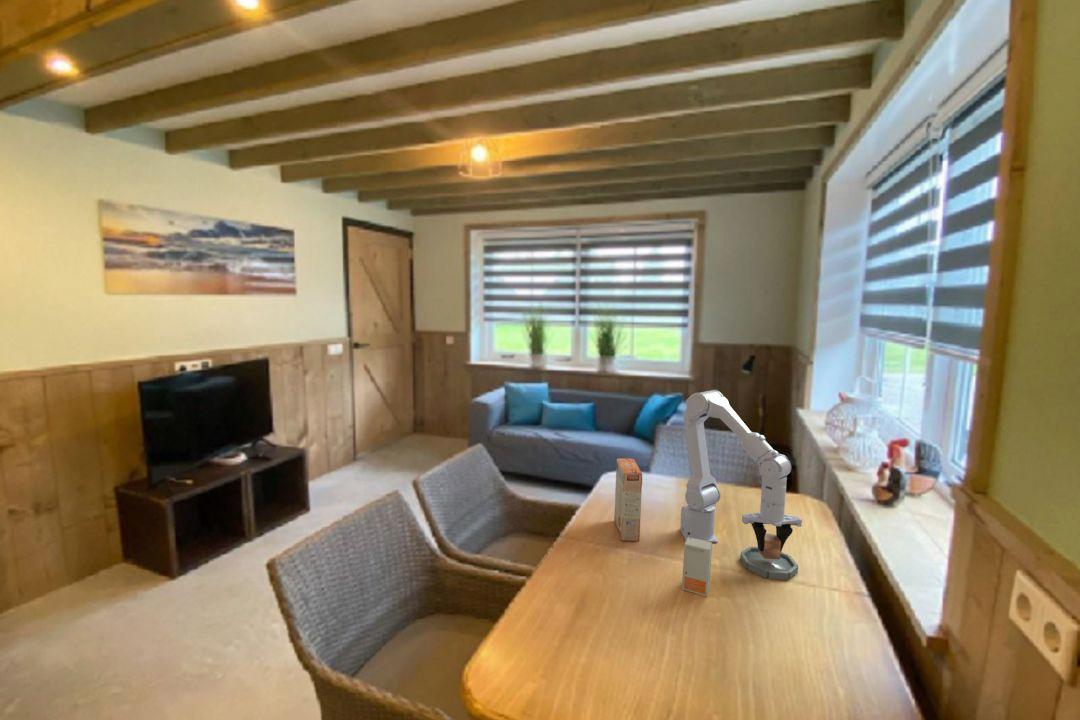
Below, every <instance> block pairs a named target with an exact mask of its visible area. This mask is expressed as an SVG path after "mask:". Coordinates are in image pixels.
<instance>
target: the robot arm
mask: <svg viewBox="0 0 1080 720" xmlns="http://www.w3.org/2000/svg"><path fill="white" fill-rule="evenodd" d="M685 404H686V408H685V411H684V414H683V422H684V433H685V437H686V447H687V453H688V454H687V455H688V461H689V470H690V477H689V480H688V481H687V483H686V492H685V495H684V497H685V498H684V499H685V502H686V504H687V505H685V506H681V510H680V525H679V526H680V527H679V530H680V532H681V534H682V536H683V539H684V540H685V542H686V539H687V537H690V538H694V539H700V540H703V541H707V542H711V543H718V542H719V540H718V539H717V537H716V535H715V518H716V517H715V516H716V515H715V514H716V508H717V507H716V506H717V503H719V501H720V499H721V496H722V495H721V491H720V489H719V486H718V485H717V480H716V478H715V477H714V476H712V474H711V470H710V463H709V462H710V461H709V454H708V447H707V439H706V438H707V437H706V431H705V430H706V429H705V424H704V423H705V421H706V420H707V419H708V418H715V419H720V420H721V421H722V422H723V424H725V425H726V426H727V427H728V429H730V430H731V431H732V432H733V433H734V434H735V435H736V436H737V437H738V438H739V439H740V447H741V448H742V449H743V450H744V451H745V452H746V453H747V455H748V456H750V458H751V459H752V460H753V461H754V463H756V465H757V466H758V469H757V470H758V472H759V474H760V476H761V491H760V492H761V493H760V494H761V495H760V509H759V512H754V513H742V515H741V522H742V523H743V524H744V525H749V524H751V527H752V528H753V531H754V534H755V539H756V543H757V547H758V548H759V550H760V551H763V550H764V539H765V534H767V529H766V528H765V525H772V526H774V527H775V535H776V536H777V537H778V538H779V540H780V541H781V548H780V552H783V548H784V546H785V543H786V542H787V540H788V538H790V536H791V534H793V532H794V531H793V529H794V528H793V527H792V526H795V527H798V528H799V527H800V528H801V527H802V524H803V523H802V522H803V520H802V518H800V516H794V515H789V514H788V515H786V514H785V508H786V496H787V495H786V494H787V480H788V477H787V476H788V475H789V474H790V473H791V472H792V464H791V460H789V458H788V457H787V455H785V454H781V453H779V452H778V451H777V450H775V449H773V447H772V446H771V445H770V444H769V443H768V441H766V437H765V435H763V434H760V433H758V432H755V431H754V432H753V431H751V430H750V428H749V427H748V426H747V425H746V423H744V421H743V420H742V419H741V418H740V416H739V415H738V413H737V412H736V411H735V410H734V409H733V408H732V406H731V405H730V403H729V400H728V398H726V397H725V396H724V395H723V393H721V392H720V391H719V390H718V389H710V390H706V391H700V392H694V393H692V394H691V395H690V396H689V397H688V398H687V399H686V400H685Z"/></svg>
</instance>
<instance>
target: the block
mask: <svg viewBox="0 0 1080 720" xmlns="http://www.w3.org/2000/svg"><path fill="white" fill-rule="evenodd" d="M780 548H781V541H780V540H779V538H778V537H777V536H776V533H766V534H765V539H764V550H763V551H760V550H759V549H758V551H759V552H760V554H761V555H762V557H763V558H764V559H780Z"/></svg>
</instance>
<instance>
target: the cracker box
mask: <svg viewBox="0 0 1080 720" xmlns="http://www.w3.org/2000/svg"><path fill="white" fill-rule="evenodd" d="M615 468H616V469H615V488H614V489H615V492H614V493H615V494H614V516H613V517H614V519H613V521H614V524H615V526H616V530H617V533H618V536H619V539H620V541H621V542H640V536H641V534H640V533H641V513H642V512H641V511H642V510H641V509H642V491H643V488H642V487H643V472H642V471H641V469H640V467H639V466H638V464H637V462H636V460H635V459H634V458H616V467H615Z"/></svg>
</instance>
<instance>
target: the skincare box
mask: <svg viewBox="0 0 1080 720" xmlns="http://www.w3.org/2000/svg"><path fill="white" fill-rule="evenodd" d="M683 548H684V549H683V562H682V563H683V564H682V565H683V566H682V578H681V579H682V582H681V590H682V591H685V592H689V593H694V594H697V595H700V596H703V597H707V596H708V595H709V594H708V593H709V591H710V590H709V589H710V586H711V570H712V569H711V568H712V567H711V566H712V555H713V554H712V553H713V542H707V541H703V540H700V539H694V538H690V537H687V539H686V541H685V542H684V546H683Z"/></svg>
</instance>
